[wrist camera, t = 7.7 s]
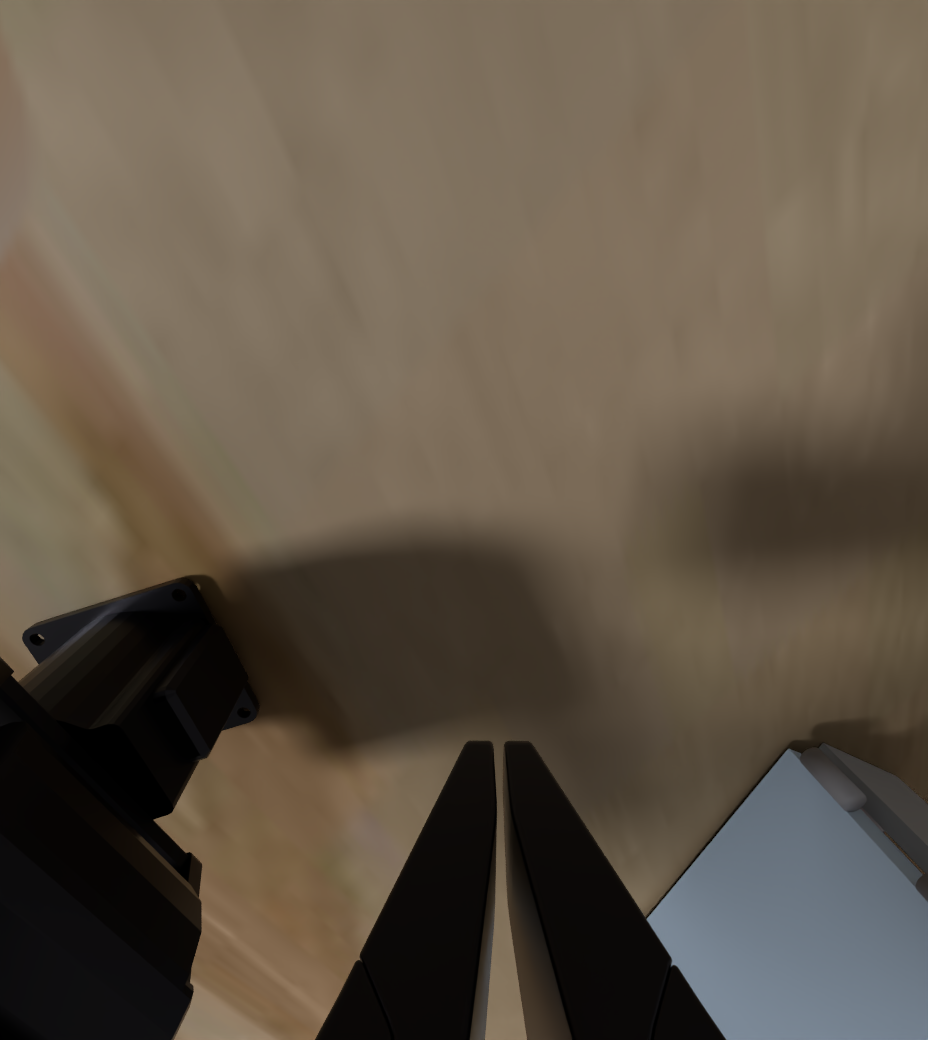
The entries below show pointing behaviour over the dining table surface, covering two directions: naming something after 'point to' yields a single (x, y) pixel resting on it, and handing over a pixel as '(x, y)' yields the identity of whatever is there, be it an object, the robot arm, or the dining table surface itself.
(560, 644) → the dining table surface
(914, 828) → the cabinet
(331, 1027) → the robot arm
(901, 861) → the door
